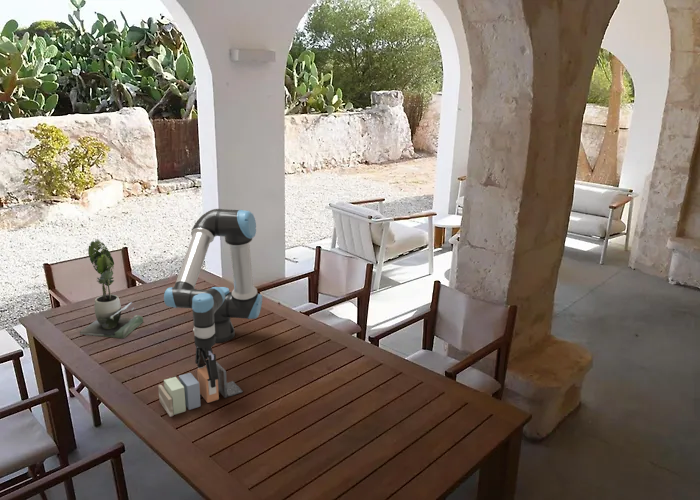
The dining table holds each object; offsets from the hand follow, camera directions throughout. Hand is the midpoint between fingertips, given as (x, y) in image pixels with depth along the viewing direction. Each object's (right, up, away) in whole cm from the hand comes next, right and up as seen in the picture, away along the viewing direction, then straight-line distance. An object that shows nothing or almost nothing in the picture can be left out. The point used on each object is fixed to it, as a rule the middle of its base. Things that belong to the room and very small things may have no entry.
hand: (207, 387), depth 220 cm
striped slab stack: (-7, -5, -2) cm, 8 cm away
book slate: (-6, -5, -3) cm, 8 cm away
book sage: (-10, -6, -6) cm, 13 cm away
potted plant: (-60, +15, +56) cm, 83 cm away
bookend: (+7, -2, +6) cm, 9 cm away
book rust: (0, -3, +1) cm, 3 cm away
